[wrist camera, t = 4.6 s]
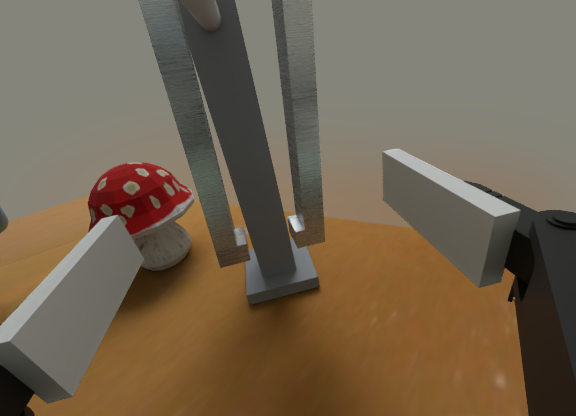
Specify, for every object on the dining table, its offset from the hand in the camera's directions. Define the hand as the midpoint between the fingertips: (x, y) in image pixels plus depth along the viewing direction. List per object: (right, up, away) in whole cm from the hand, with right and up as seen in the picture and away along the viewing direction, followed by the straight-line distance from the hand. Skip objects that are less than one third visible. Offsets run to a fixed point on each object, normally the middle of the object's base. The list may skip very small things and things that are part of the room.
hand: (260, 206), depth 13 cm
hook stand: (+1, -11, +14) cm, 18 cm away
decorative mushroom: (-17, -8, +27) cm, 33 cm away
